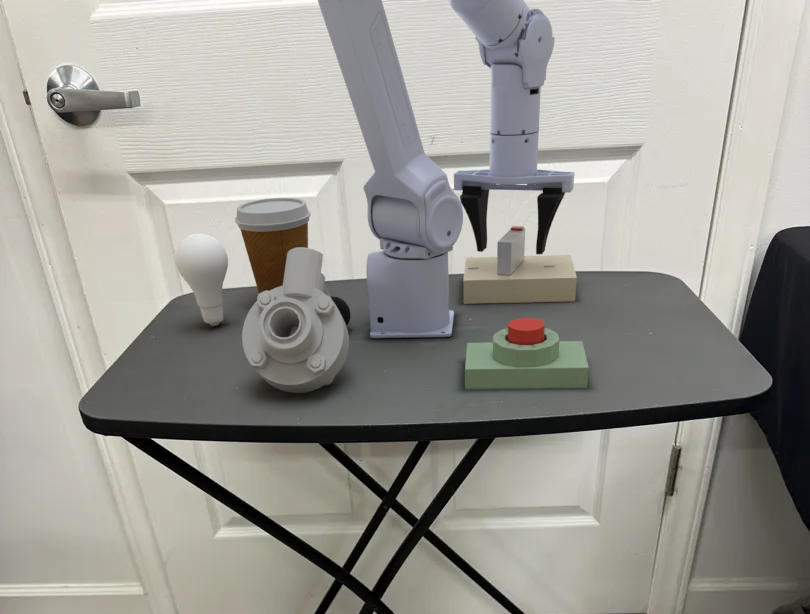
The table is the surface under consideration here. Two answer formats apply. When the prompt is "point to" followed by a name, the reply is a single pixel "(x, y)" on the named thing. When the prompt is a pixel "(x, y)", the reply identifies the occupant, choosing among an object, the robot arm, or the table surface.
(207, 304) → the lightbulb
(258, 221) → the disposable coffee cup
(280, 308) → the centrifugal pump
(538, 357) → the button box
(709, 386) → the table surface
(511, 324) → the button
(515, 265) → the red-topped grey block
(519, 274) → the tan base
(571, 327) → the table surface
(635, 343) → the table surface
